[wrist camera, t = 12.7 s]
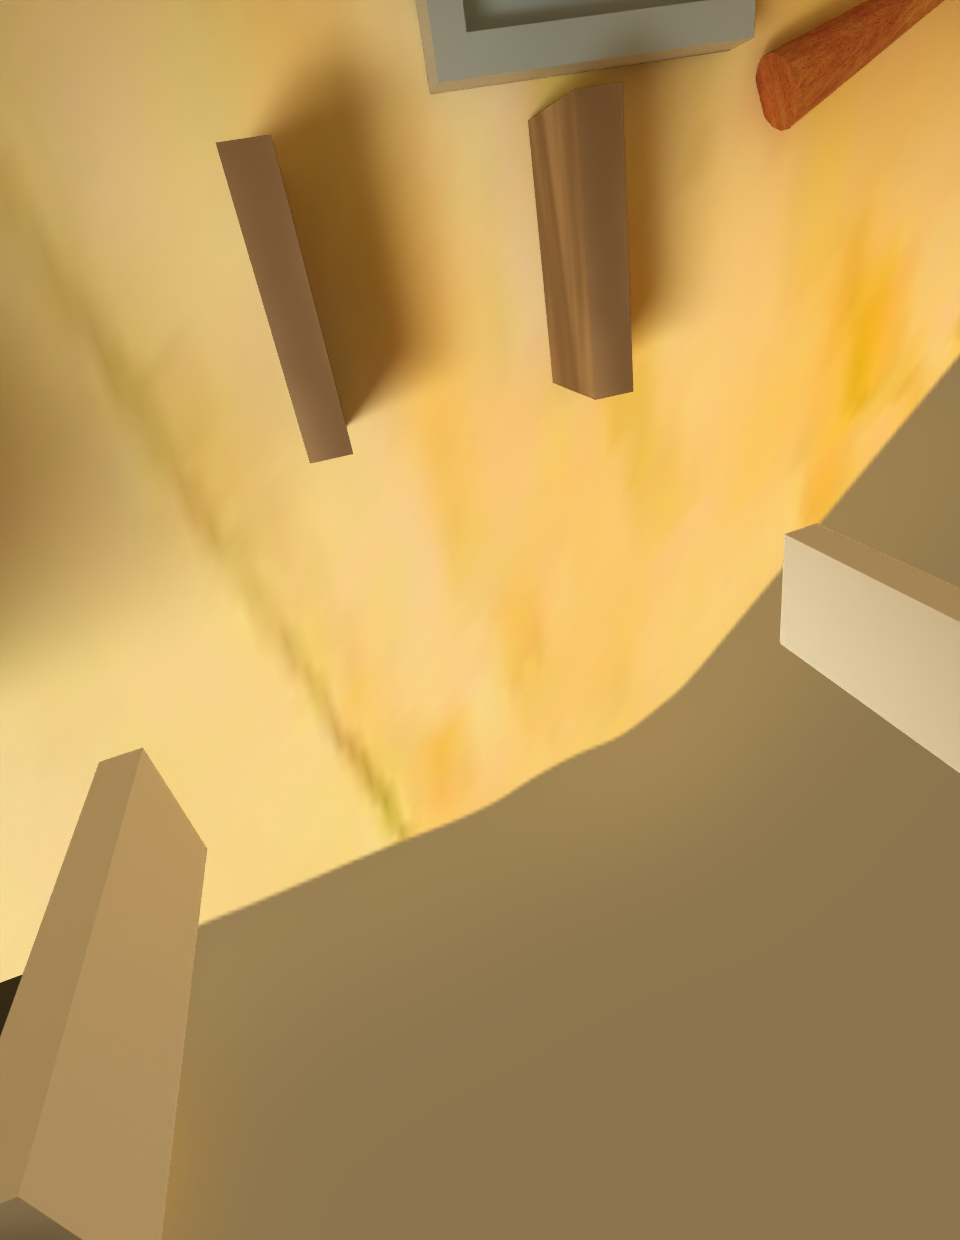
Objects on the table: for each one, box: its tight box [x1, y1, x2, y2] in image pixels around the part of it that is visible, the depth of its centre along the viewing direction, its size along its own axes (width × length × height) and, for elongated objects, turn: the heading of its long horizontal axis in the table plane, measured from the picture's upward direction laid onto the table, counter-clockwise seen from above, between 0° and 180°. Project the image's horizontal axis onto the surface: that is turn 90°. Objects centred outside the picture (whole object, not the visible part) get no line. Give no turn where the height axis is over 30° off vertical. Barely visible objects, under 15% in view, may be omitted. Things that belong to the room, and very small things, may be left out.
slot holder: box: [216, 82, 633, 463], centre depth 30 cm, size 16×12×6 cm
